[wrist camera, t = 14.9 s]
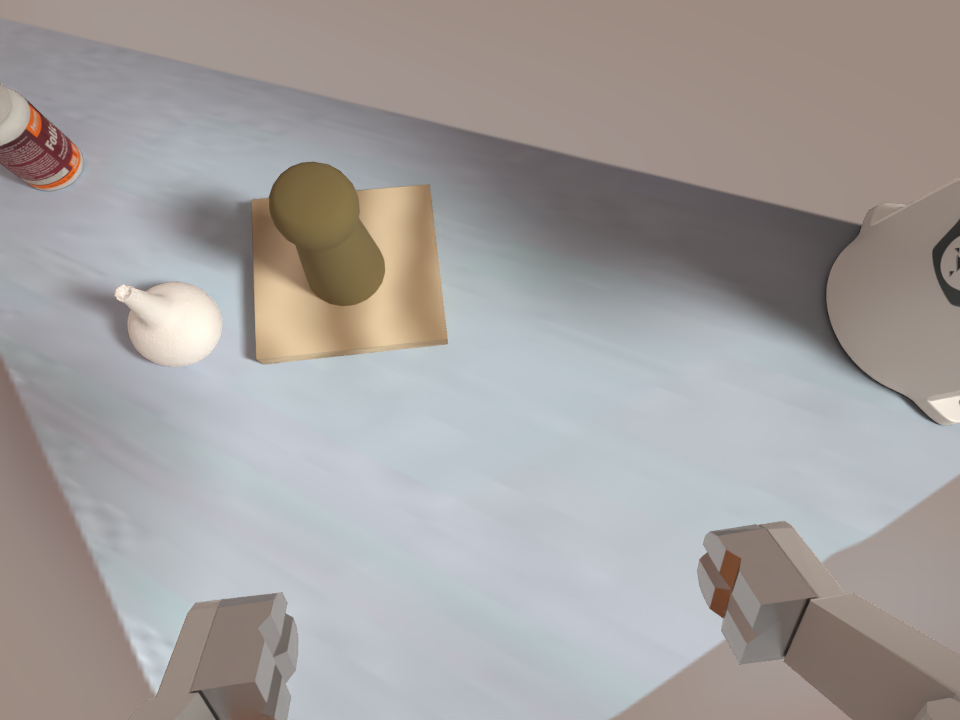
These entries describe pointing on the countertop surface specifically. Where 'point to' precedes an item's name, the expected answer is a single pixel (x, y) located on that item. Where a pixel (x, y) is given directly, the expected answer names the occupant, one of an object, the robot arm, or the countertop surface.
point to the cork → (327, 232)
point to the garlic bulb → (172, 322)
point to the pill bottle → (35, 145)
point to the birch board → (367, 325)
